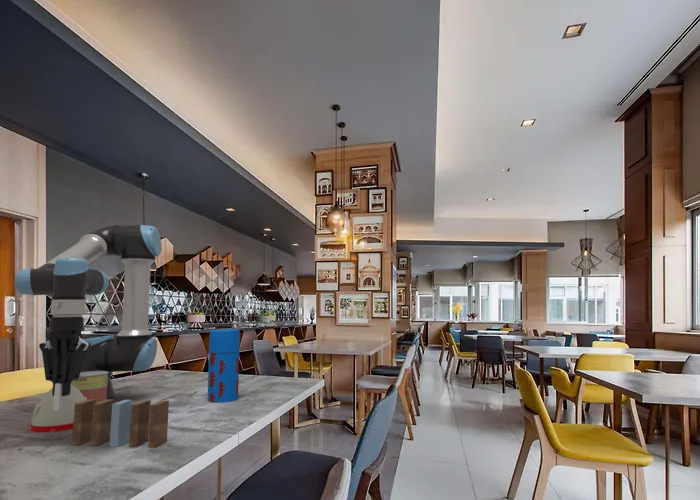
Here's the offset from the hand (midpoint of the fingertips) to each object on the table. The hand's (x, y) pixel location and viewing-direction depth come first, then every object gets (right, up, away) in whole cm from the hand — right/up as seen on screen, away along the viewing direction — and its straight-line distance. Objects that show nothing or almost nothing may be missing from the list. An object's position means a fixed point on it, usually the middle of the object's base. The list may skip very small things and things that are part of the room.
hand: (59, 408), depth 108 cm
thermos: (+28, -14, +46) cm, 56 cm away
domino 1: (+7, -8, -2) cm, 11 cm away
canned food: (-13, -13, +31) cm, 36 cm away
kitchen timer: (-9, -10, +14) cm, 20 cm away
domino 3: (+17, -8, -3) cm, 19 cm away
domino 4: (+22, -8, -3) cm, 23 cm away
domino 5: (+27, -7, -4) cm, 28 cm away
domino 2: (+12, -8, -2) cm, 14 cm away
